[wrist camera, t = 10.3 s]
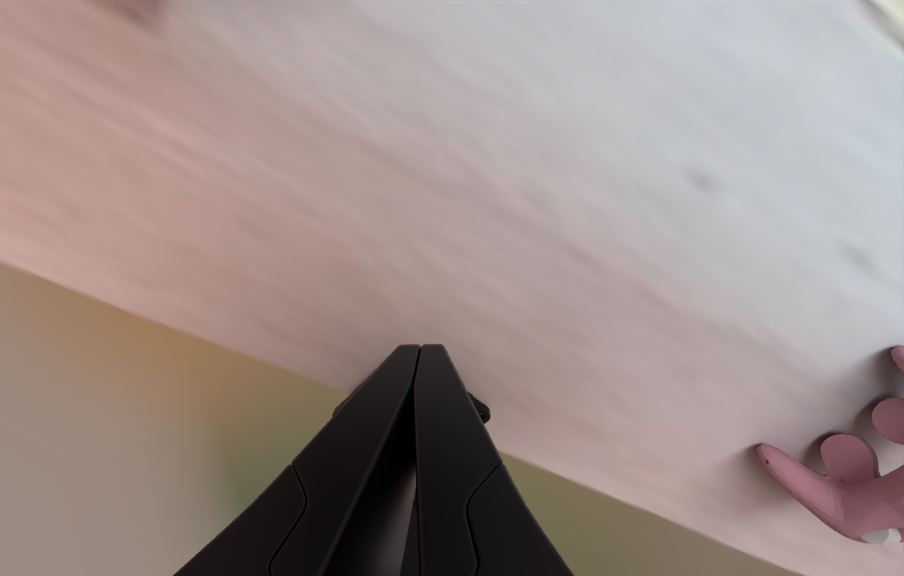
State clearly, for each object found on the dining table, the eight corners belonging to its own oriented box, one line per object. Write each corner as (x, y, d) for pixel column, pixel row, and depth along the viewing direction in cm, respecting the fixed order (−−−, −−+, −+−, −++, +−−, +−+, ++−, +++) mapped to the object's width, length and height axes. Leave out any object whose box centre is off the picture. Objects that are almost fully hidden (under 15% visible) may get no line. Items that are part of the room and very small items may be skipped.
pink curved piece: (773, 450, 31) (875, 567, 27) (742, 452, 28) (849, 582, 24) (924, 344, 27) (1078, 462, 22) (903, 334, 24) (1075, 467, 19)
